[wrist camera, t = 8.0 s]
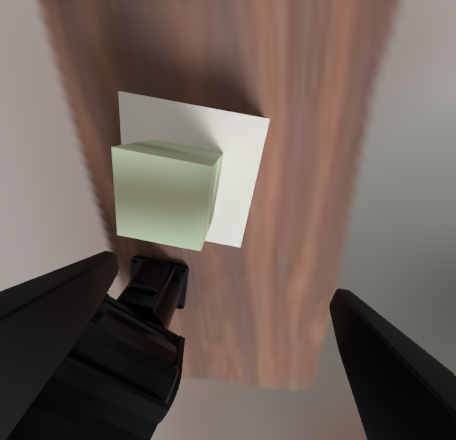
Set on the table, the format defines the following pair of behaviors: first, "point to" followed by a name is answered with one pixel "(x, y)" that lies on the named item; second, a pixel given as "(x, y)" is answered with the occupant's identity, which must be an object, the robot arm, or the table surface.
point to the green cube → (165, 192)
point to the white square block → (210, 140)
